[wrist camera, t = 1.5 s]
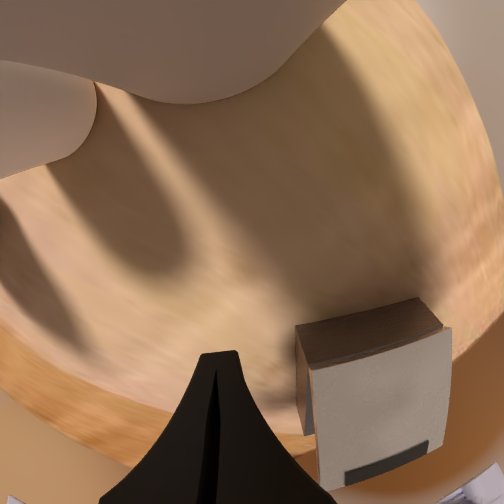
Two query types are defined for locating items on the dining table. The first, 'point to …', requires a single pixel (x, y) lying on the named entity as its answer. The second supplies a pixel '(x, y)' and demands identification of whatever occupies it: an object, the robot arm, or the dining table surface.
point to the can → (41, 115)
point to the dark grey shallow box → (354, 342)
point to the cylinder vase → (161, 42)
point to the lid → (380, 408)
